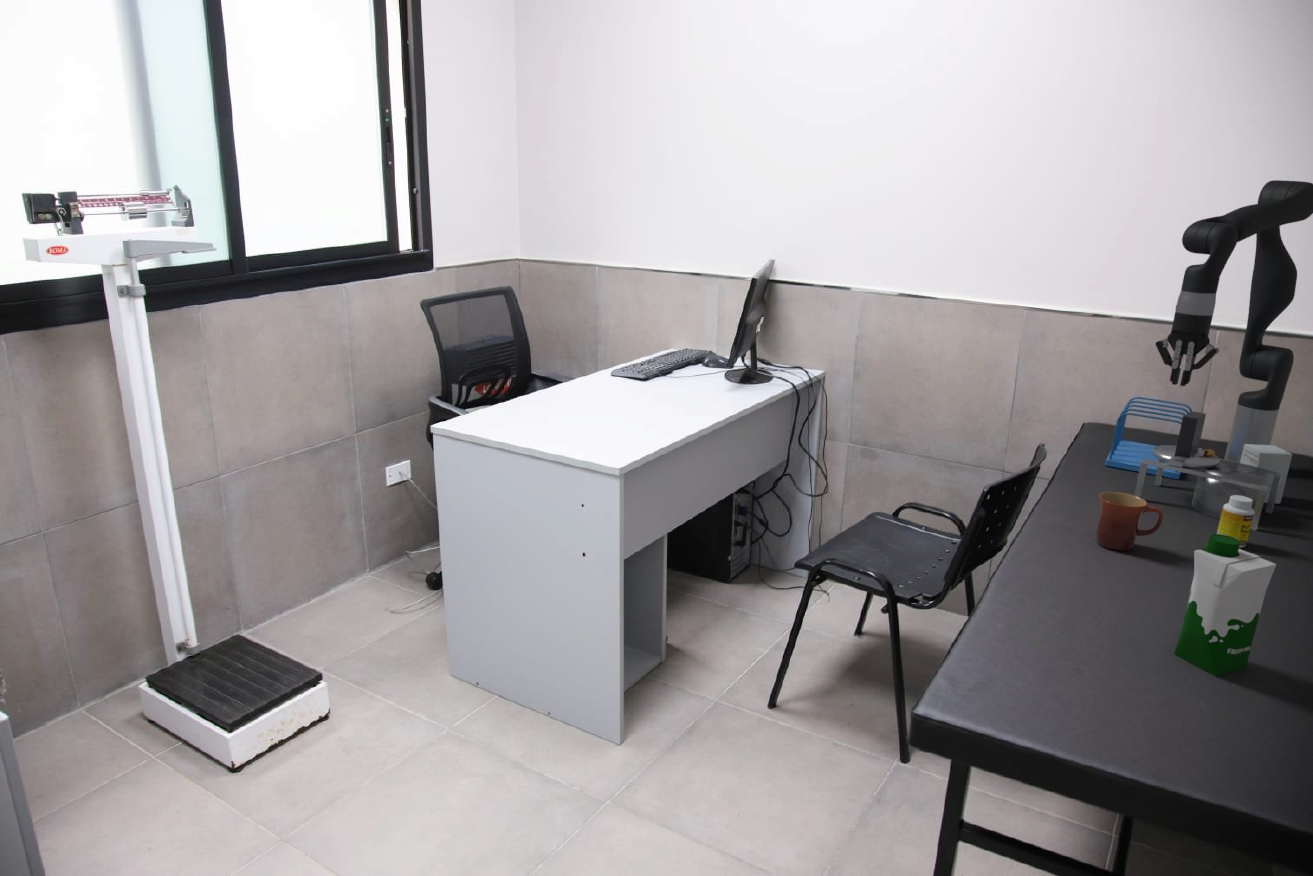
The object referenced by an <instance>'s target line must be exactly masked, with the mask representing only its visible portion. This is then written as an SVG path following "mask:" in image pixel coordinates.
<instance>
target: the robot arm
mask: <svg viewBox="0 0 1313 876" xmlns="http://www.w3.org/2000/svg"><path fill="white" fill-rule="evenodd" d="M1311 216H1313V183H1312V182H1309V181H1303V180H1302V181H1299V180H1279V179H1277V180H1276V179H1275V180H1270V181H1268V182H1266V183H1265V184H1264V185H1263V187H1262V188H1261V190H1260V192H1259V195H1258V199H1257V203H1256V204H1255V203H1254V204H1249V205H1245V206H1241V207H1239V208H1237V209H1234V210H1232V211H1229V212H1228V213H1227V212H1226V214H1224V215H1219V216H1218V215H1217V216H1214V217H1208V218H1203V219H1200V220H1199V219H1198V220H1197V221H1195V222H1193V223H1191V224H1189V226H1187V228H1186V229H1185V230H1184V232H1183V235H1182V238H1181V242H1182V246H1183V248H1184V249H1185V250H1186V251H1187V252H1189V253H1192V254H1197V255H1198V254H1199V255H1209V256H1208V257H1207V259H1206V260H1205V262H1204V263H1198V264H1191V265H1189V266H1187V267H1186V268H1185V271H1184V274H1183V280H1182V283H1181V289H1180V293H1179V295H1178V298H1177V301H1176V305H1175V312H1174V316H1173V321H1172V325H1171V331H1170V333H1169V334H1168V336H1167V337H1166V338H1164V339H1162V340H1158V341H1156V342H1155V346H1156V349H1157V351H1158V353H1159V355H1160V357H1161V360H1162V362H1163V364H1164V365H1166V366H1169V367H1170V368H1171V374H1170V377H1169V381H1170V382H1171V384H1172V385H1174V386H1176V385H1178V383H1179V380H1180V375H1181V370H1182V368H1180V367H1181V365H1182V360H1183V358H1184V355H1185V364H1184V369H1183V371H1182V376H1181V380H1180V384H1179V385H1180V387H1185V386H1186V385H1188V384H1190V382H1191V379H1192V378H1191V377H1192V373H1193V371H1194V370H1195V371H1196V370H1199V369H1202V368H1203V367H1204V366H1206V364H1207V363H1208V362H1209V361H1211V360H1212V359H1213V358H1214V357H1215V356H1216V355H1217V354H1218V353H1219V352H1220V349H1219V348H1217V347H1215V346H1213V345H1212V344H1211V343H1210V341H1211V340H1210V337H1209V335H1210V330H1211V324H1212V321H1213V316H1214V311H1215V307H1216V300H1217V293H1218V287H1219V283H1220V278H1221V275H1222V273H1223V271H1224V269H1225V267H1226V264H1227V263H1228V260H1229V259H1230V257H1231V255H1232V254H1233V252H1234V250H1235V248H1236V246H1237V245H1238V243H1239V242H1242V241H1244V240H1246V239H1249V238H1250V237H1252V236H1254V235H1256V238H1255V241H1256V243H1255V253H1254V255H1255V256H1254V264H1253V270H1252V275H1251V284H1250V292H1249V305H1248V314H1247V322H1246V329H1245V333H1244V338H1243V343H1242V348H1241V353H1240V357H1239V365H1238V369H1239V374H1240V376H1242V377H1244V378H1246V379H1249V380H1256V381H1260V382H1266V383H1267V384H1266V385H1265V388H1263V389H1260V390H1259V389H1258V390H1251V391H1244V392H1242V393H1240V394H1239V396H1238V400H1237V403H1236V408H1235V412H1234V417H1233V420H1232V426H1231V430H1230V434H1229V437H1228V442H1227V446H1226V449H1225V450H1226V451H1225V455H1224V460H1229V461H1233V462H1238V463H1240V461H1241V457H1242V452H1243V448H1244V444H1253V445H1272V444H1271V443H1272V439H1273V435H1274V431H1275V428H1276V423H1277V419H1278V415H1279V412H1280V407H1281V404H1282V401H1283V398H1284V395H1285V391H1286V388H1287V384H1288V381H1289V378H1290V374H1291V372H1292V370H1293V369H1292V368H1293V366H1294V358H1295V356H1294V352H1293V350H1291V349H1290V348H1286V347H1281V346H1275V345H1268V344H1263V338H1264V336H1265V333H1266V332H1267V331H1266V330H1267V329H1268V328H1269V327H1270V326H1271V324H1272V323H1273V322H1274V321H1275V320H1276V319H1277V318H1278V317H1279V316H1280V315H1281V314H1282V313H1283V312H1284V311H1285V310H1286V309H1287V308H1288V307H1289V306H1290V305H1291V304H1292V302H1293V300H1294V297H1295V296H1296V295H1295V294H1296V289H1297V280H1298V270H1297V266H1296V264H1295V262H1294V260H1293V258H1292V257H1291V255H1290V253H1289V251H1288V249H1287V247H1286V246H1285V244H1284V242H1283V239H1282V236H1281V226H1284V225H1287V224H1293V223H1297V222H1302V221H1305V220H1307V219H1308V218H1310V217H1311ZM1169 345H1170V347H1171V349H1172V350H1173V352H1174V353H1173V356H1171V354H1170V351H1169V350H1168V349H1169V348H1168V347H1169ZM1204 349H1205V350H1204ZM1203 350H1204V354H1205V355H1204V356H1202V358H1201V359H1200V360H1199V361H1198V362H1196V363H1195V361H1196V358H1197V355H1198V354H1199V353H1201V352H1202V351H1203Z"/></svg>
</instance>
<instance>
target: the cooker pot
mask: <svg viewBox="0 0 1313 876" xmlns="http://www.w3.org/2000/svg"><path fill="white" fill-rule="evenodd" d="M1148 464H1149V465H1153V466H1157V471H1156V475H1155V476H1154V481H1153V486H1154V485H1155V487H1158V486H1159V487H1160V486H1161V484H1162V478H1163V477H1162V474H1163V470H1164V468H1166V469H1171V470H1175V471H1179V472H1181V473H1184V474H1188V475H1193V476H1197V479H1196V485H1195V488H1194V492H1193V497H1192V501H1191V505H1192V506H1191V507H1193V508H1194V509H1193V510H1195V512H1198V513H1200V514H1202V515H1204V516H1208V517H1210V518H1215V519H1218V520H1220V518H1221V514H1222V509H1223V506H1224V505H1225V504H1227V503H1229V500H1230V496H1232V495H1240V496H1245V497H1248V498H1250V499H1252V500H1253V502H1252V506H1251V508H1252V509H1253V510H1254V512H1255V513H1254V517H1253V521H1252V525H1251V529H1250V531H1251V530H1252V531H1255V532H1256V531H1257V530H1258V526H1259V523H1260V520H1261V515H1262V512H1263V508H1264V504H1265V503H1264V500H1265V496H1266V492H1267V487H1266V486H1265V485H1266V481H1267V475H1266V474H1265V473H1268V474H1273V475H1274V479H1273V483H1272V487H1271V491H1270V495H1269V499H1268V503H1266V506H1265V510H1264V511H1265V513H1266V514H1269V515H1270V514H1272V513H1273V512H1274V509H1275V508H1274V507H1275V504H1276V503H1275V500H1276V496H1277V492H1278V488H1279V484H1280V481H1281V477H1282V472H1280V471H1276V470H1271V469H1266V468H1262V467H1257V466H1252V465H1247V464H1243V463H1238V462H1233V461H1229V460H1224V459H1222V458H1220V461H1219V465H1218V466H1217V467H1213V468H1199V469H1198V470H1195V469H1191V468H1188V467H1187V468H1186V467H1178V466H1173V465H1169V464H1165V461H1162V460H1160V459H1159V461H1158V462H1156V461H1151V460H1147V459H1142V460H1141V465H1140V470H1139V472H1138V476H1137V480H1136V485H1135V490H1134V496H1137V497H1139V498H1142V493H1143V490H1144V489H1143V488H1144V484H1145V479H1146V475H1147V473H1146V470H1147V466H1148Z"/></svg>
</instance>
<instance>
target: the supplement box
mask: <svg viewBox="0 0 1313 876" xmlns="http://www.w3.org/2000/svg"><path fill="white" fill-rule="evenodd" d="M1292 457H1293V453H1291V452H1288V451H1286V450H1285V449H1282V448H1281V447H1278V446H1276V445H1272V444H1270V445H1253V444H1244V448H1243V452H1242V457H1241V461H1240V463H1243V464H1247V465H1252V466H1257V467H1262V468H1266V469H1271V470H1276V471H1280V472H1282V477H1281V481H1280V484H1279V488H1278V492H1277V496H1276V500H1275V504H1281V502H1282V497H1283V493H1284V489H1285V486H1286V481H1287V478H1288V473H1289V470H1290V466H1291V461H1292ZM1265 474H1266V475H1267V481H1266V485H1265V486H1266V487H1267V492H1266V496H1265V500H1264V504H1267V503H1268V499H1269V495H1270V491H1271V487H1272V483H1273V479H1274V475H1273V474H1268V473H1265Z"/></svg>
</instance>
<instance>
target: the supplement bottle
mask: <svg viewBox="0 0 1313 876" xmlns="http://www.w3.org/2000/svg"><path fill="white" fill-rule="evenodd" d="M1252 502H1253V500H1252V499H1250V498H1248V497H1245V496H1240V495H1232V496H1230V500H1229V503H1227V504H1225V505H1224V506H1223V509H1222V514H1221V518H1220V519H1219V522H1218V527H1217V530H1216V534H1221V535H1226V536H1230V537H1233V538H1235V539H1237V540H1239V541H1240V545H1239V549H1241V548H1242V549H1243V548H1245V547H1246V546H1247V543H1248V540H1249V536H1250V532H1251V525H1252V521H1253V517H1254V513H1255V512H1254V510H1253V509H1252V508H1251V506H1252Z"/></svg>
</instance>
